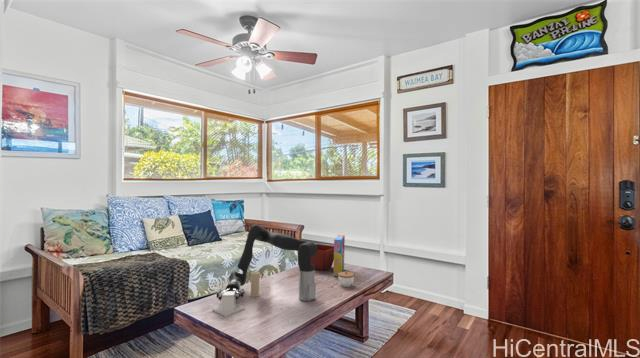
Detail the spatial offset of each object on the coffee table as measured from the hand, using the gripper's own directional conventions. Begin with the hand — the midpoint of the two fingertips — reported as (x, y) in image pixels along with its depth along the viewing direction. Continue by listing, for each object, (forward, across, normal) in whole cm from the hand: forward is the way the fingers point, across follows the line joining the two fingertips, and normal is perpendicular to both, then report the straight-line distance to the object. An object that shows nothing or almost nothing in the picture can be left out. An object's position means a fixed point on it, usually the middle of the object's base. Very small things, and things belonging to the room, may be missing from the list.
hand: (228, 298), depth 164 cm
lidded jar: (-36, +71, +7) cm, 81 cm away
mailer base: (-22, +12, +7) cm, 26 cm away
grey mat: (-2, 0, +7) cm, 7 cm away
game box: (-65, +71, +7) cm, 97 cm away
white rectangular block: (-2, 0, +6) cm, 6 cm away
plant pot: (-78, +59, +7) cm, 97 cm away
